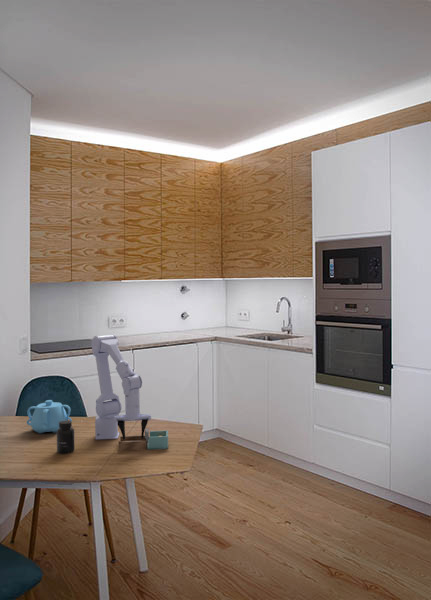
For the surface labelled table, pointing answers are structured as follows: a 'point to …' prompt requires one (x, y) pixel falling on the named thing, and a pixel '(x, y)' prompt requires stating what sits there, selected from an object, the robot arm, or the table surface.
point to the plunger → (147, 435)
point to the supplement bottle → (65, 437)
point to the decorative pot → (48, 416)
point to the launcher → (132, 443)
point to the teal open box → (158, 440)
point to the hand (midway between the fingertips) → (133, 438)
